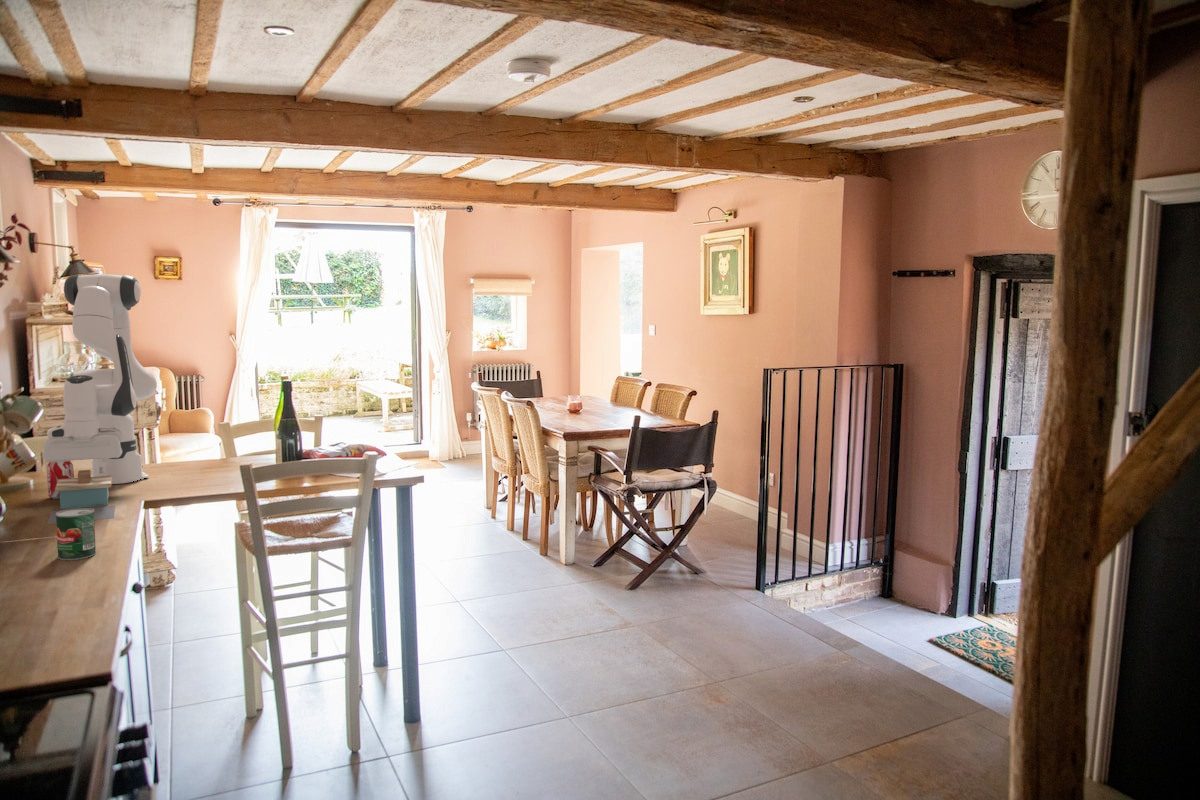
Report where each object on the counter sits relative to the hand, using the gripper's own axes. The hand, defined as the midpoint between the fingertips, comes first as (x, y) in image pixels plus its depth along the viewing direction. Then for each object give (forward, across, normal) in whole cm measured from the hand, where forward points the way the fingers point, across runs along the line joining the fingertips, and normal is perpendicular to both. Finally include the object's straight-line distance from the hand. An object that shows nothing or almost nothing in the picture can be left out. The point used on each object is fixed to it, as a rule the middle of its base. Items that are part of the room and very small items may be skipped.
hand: (84, 473), depth 247 cm
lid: (+3, 0, 0) cm, 3 cm away
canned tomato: (+10, -1, +59) cm, 60 cm away
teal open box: (+9, 0, 0) cm, 9 cm away
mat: (+9, 0, +16) cm, 19 cm away
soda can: (+10, +7, -13) cm, 18 cm away
